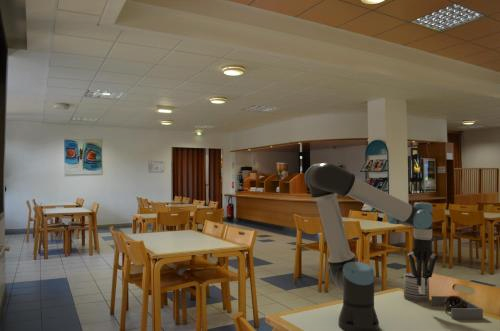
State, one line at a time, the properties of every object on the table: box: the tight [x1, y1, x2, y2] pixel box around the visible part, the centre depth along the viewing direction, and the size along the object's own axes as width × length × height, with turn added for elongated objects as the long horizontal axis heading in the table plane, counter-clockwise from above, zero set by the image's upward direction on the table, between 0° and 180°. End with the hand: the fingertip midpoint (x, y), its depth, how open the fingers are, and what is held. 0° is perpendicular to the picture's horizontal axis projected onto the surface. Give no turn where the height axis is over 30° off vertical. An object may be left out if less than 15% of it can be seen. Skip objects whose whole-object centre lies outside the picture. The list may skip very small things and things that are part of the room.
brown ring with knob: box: [443, 295, 468, 314], centre depth 169 cm, size 12×10×8 cm
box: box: [431, 295, 484, 320], centre depth 170 cm, size 12×18×4 cm
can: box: [403, 272, 430, 304], centre depth 188 cm, size 11×11×12 cm
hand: (421, 293), depth 170 cm, fingers closed
